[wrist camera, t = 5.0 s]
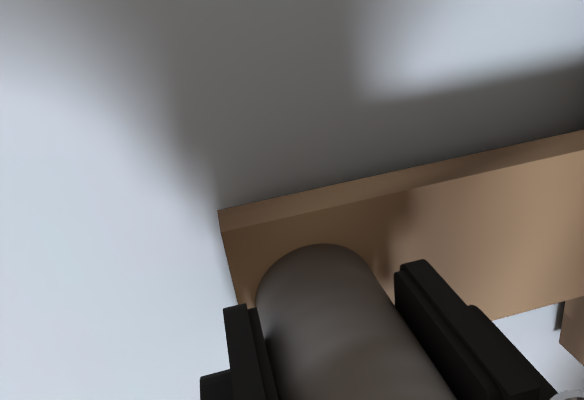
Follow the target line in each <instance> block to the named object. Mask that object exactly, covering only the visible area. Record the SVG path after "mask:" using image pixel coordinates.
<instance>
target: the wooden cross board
mask: <svg viewBox="0 0 584 400" xmlns="http://www.w3.org/2000/svg"><path fill="white" fill-rule="evenodd" d="M217 212H218V218H219V225H220V231H221V236H222V240H223V244H224V248H225V252H226V257H227V261H228V265H229V269H230V273H231V277H232V281H233V286H234V290H235V294H236V298H237V302H238V305H240V304H244V303H246V304H247V308H248V309H250V308H254V307H257V310H258V314H259V319H260V323H261V327H262V331H263V336H264V340H265V344H266V348H267V353H268V357H269V361H270V366H271V370H272V374H273V378H274V383H275V387H276V391H277V396H278V400H457V398H456V397H455V395H454V394H453V392H452V391H451V389H450V388H449V386H448V385H447V383H446V382H445V380H444V379H443V377H442V376H441V374H440V373H439V371H438V370H437V368H436V367H435V365H434V364H433V362H432V361H431V359H430V358H429V356H428V355H427V353H426V352H425V350H424V349H423V347H422V346H421V344H420V343H419V341H418V340H417V338H416V337H415V335H414V334H413V332H412V331H411V329H410V328H409V326H408V325H407V323H406V322H405V320H404V319H403V317H402V316H401V314H400V313H399V311H398V310H397V308H396V307H395V297H394V273H395V272H398V271H400V265H401V264H404V263H408V262H412V261H416V260H420V259H425V260H426V261H428V262H429V264H430V265H431V266H432V267H433V268H434V269H435V270H436V271H437V272H438V274H439V275H440V276H441V277H442V278H443V279H444V280H445V281H446V282H447V284H448V285H449V286H450V287H451V288H452V289H453V290H454V291H455V292H456V294H457V295H458V296H459V297H460V298H461V299H462V300H463V301H464V303H465V304H466V305H467V306H468V305H475V306H477V307H478V308H479V309H480V310H482V312H483V313H484V314H485V315H486V316H487V317H488V318H489V319H490V320H491V321H493V320H497V319H500V318H504V317H508V316H511V315H515V314H519V313H522V312H526V311H530V310H533V309H537V308H541V307H544V306H548V305H552V304H555V303H559V302H563V301H565V307H564V313H563V320H562V326H561V333H560V339H559V343H560V344H561V345H562V346H563V347H564V348H565V349H566V350H567V351H568V352H569V353H570V354H572V355H573V356H574V357H575V358H576V359H577V360H578V361H579V362H580V363H581V364H582V365H583V366H584V130H580V131H575V132H571V133H566V134H561V135H557V136H552V137H548V138H543V139H539V140H534V141H530V142H525V143H521V144H516V145H512V146H507V147H502V148H498V149H493V150H489V151H484V152H480V153H475V154H471V155H466V156H462V157H457V158H453V159H448V160H443V161H439V162H434V163H430V164H425V165H421V166H416V167H412V168H407V169H403V170H398V171H394V172H389V173H384V174H380V175H375V176H371V177H366V178H362V179H357V180H353V181H348V182H344V183H339V184H335V185H330V186H325V187H321V188H316V189H312V190H307V191H303V192H298V193H294V194H289V195H285V196H280V197H276V198H271V199H266V200H262V201H257V202H253V203H248V204H244V205H239V206H235V207H230V208H226V209H221V210H217Z"/></svg>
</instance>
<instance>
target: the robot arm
mask: <svg viewBox="0 0 584 400" xmlns="http://www.w3.org/2000/svg"><path fill="white" fill-rule="evenodd" d="M394 297H395V307H396V308H397V310H398V311H399V313H400V314H401V316H402V317H403V319H404V320H405V322H406V323H407V325H408V326H409V328H410V329H411V331H412V332H413V334H414V335H415V337H416V338H417V340H418V341H419V343H420V344H421V346H422V347H423V349H424V350H425V352H426V353H427V355H428V356H429V358H430V359H431V361H432V362H433V364H434V365H435V367H436V368H437V370H438V371H439V373H440V374H441V376H442V377H443V379H444V380H445V382H446V383H447V385H448V386H449V388H450V389H451V391H452V392H453V394H454V395H455V397H456V398H457V400H584V391H581V390H572V391H564V392H561V393H558V392H557V391H556V390H555V389H554V388H553V387H552V386H551V385H550V384H549V383H548V382H547V380H546V379H545V378H544V377H543V376H542V375H541V374H540V373H539V372H538V371H537V370H536V369H535V368H534V366H533V365H532V364H531V363H530V362H529V361H528V360H527V359H526V358H525V357H524V356H523V355H522V354H521V352H520V351H519V350H518V349H517V348H516V347H515V346H514V345H513V344H512V343H511V342H510V341H509V340H508V338H507V337H506V336H505V335H504V334H503V333H502V332H501V331H500V330H499V329H498V328H497V327H496V326H495V324H494V323H493V322H492V321H491V320H490V319H489V318H488V317H487V316H486V315H485V314H484V313H483V312H482V310H480V309H479V308H478V307H477V306H475V305H468V306H467V305H466V304H465V303H464V301H463V300H462V299H461V298H460V297H459V296H458V295H457V294H456V292H455V291H454V290H453V289H452V288H451V287H450V286H449V285H448V284H447V282H446V281H445V280H444V279H443V278H442V277H441V276H440V275H439V274H438V272H437V271H436V270H435V269H434V268H433V267H432V266H431V265H430V264H429V262H428V261H426V260H425V259H420V260H416V261H412V262H408V263H404V264H401V265H400V271H398V272H395V273H394ZM223 315H224V323H225V331H226V339H227V347H228V355H229V363H230V369H228V370H225V371H221V372H217V373H213V374H210V375H206V376H202V377H200V400H278V396H277V391H276V387H275V383H274V378H273V374H272V370H271V366H270V361H269V357H268V353H267V348H266V344H265V340H264V336H263V331H262V327H261V323H260V319H259V314H258V310H257V307H254V308H250V309H248V308H247V304H246V303H244V304H240V305H236V306H232V307H228V308H223Z"/></svg>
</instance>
